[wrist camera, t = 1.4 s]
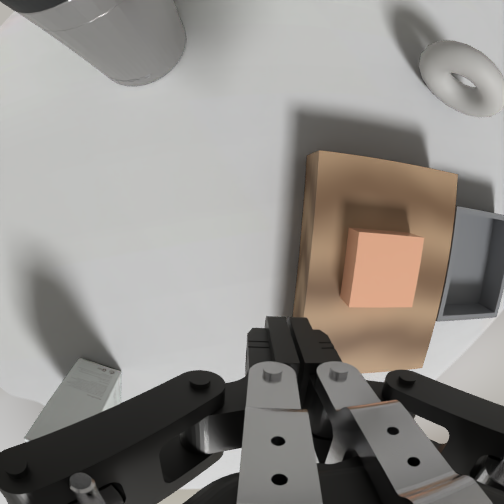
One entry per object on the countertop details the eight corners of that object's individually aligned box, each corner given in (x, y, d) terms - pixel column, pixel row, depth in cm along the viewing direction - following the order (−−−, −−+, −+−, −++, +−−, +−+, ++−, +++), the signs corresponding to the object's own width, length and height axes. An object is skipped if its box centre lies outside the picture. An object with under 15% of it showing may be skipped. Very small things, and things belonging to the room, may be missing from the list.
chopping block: (306, 155, 29) (319, 150, 24) (430, 174, 30) (457, 174, 25) (288, 350, 33) (295, 375, 28) (403, 347, 34) (422, 367, 29)
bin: (436, 203, 30) (456, 206, 27) (494, 213, 31) (515, 217, 27) (419, 308, 33) (436, 321, 29) (478, 306, 33) (496, 317, 29)
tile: (348, 227, 26) (359, 231, 23) (410, 232, 26) (424, 237, 24) (339, 296, 27) (348, 307, 24) (399, 297, 27) (412, 307, 25)
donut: (471, 107, 28) (528, 94, 18) (463, 128, 29) (521, 119, 19) (409, 52, 27) (458, 19, 17) (398, 72, 28) (449, 41, 18)
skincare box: (80, 355, 33) (18, 431, 18) (125, 370, 33) (76, 459, 19) (82, 405, 35) (36, 482, 20) (123, 419, 35) (87, 504, 20)
